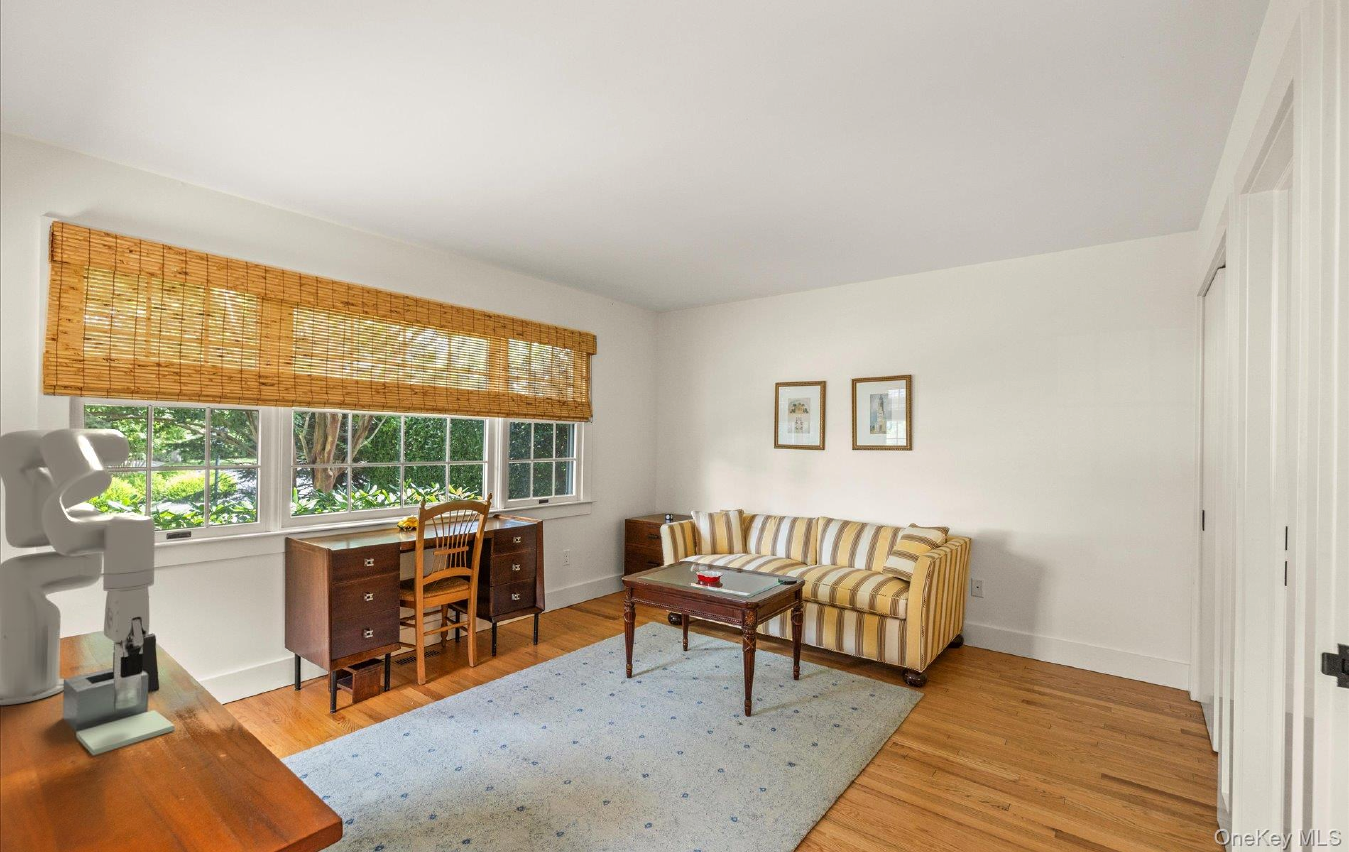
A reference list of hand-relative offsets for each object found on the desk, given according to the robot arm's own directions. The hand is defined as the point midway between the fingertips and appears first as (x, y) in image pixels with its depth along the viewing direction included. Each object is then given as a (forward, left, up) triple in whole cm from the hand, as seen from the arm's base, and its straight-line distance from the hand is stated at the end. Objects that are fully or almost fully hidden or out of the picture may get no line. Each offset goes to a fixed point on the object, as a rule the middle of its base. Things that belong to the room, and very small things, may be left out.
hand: (127, 672), depth 121 cm
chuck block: (-14, 0, -12) cm, 19 cm away
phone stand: (-26, +8, -12) cm, 30 cm away
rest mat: (0, 0, -12) cm, 12 cm away
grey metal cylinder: (0, 0, -6) cm, 6 cm away
